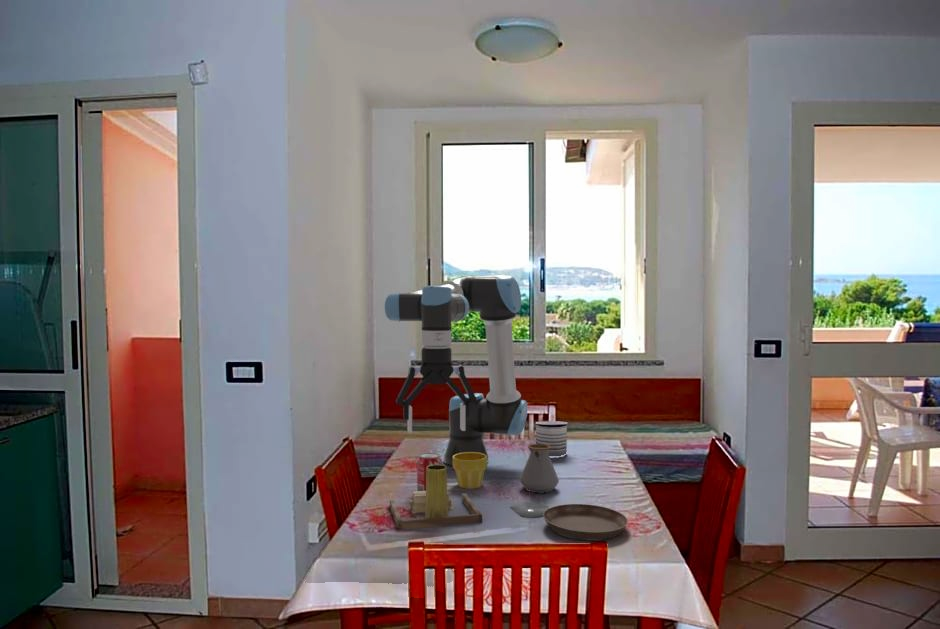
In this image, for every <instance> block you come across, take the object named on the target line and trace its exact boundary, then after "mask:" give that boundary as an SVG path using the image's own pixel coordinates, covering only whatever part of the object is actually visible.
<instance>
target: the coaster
mask: <svg viewBox="0 0 940 629" xmlns="http://www.w3.org/2000/svg"><path fill="white" fill-rule="evenodd" d="M509 508H510V510H512V511H513V512H514V513H515V514H517V515H518V516H519V517H522V518H541V517H543V513H544V512H545V511H546V510H547V509H549V508H550V507H549V506H548V505H546V504H543V503H539V502H530V501H529V502H528V501H527V502H517V503H514V504H512V505H510V506H509Z"/></svg>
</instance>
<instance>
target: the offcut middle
mask: <svg viewBox="0 0 940 629" xmlns="http://www.w3.org/2000/svg"><path fill="white" fill-rule="evenodd" d="M425 506H426V503H419V504H415V503H414V500H412V499H411V500H410V501H409V507H410V508H411V509H412V510H413V511H414V512H416V513H415V514H421V513H420V512H423V513H425ZM451 506H452V499H450V498H449V501H448V508H451Z"/></svg>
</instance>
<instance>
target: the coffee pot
mask: <svg viewBox="0 0 940 629" xmlns="http://www.w3.org/2000/svg"><path fill="white" fill-rule="evenodd" d="M527 448H528V451H529V452H530V454H529V456H528V459H527V461H526V464H525V466H524V468H523V471H522V473H521V475H520V477H519V481H520V483H521V486H522V487H524V488H525V489H526V488H527V489H528V490H530V491H533V492H532V493H535V492H538V494H543V493H544V492H546V493H550V492H552V491H553V489H555V488H556V487H557V486H558V484H559V481H560V480H559V477H558V474H557V471H556V470H555V467H554V465H553V463H552V460H551V458H550V457H549V455H548V451H549V449H550V446H549V445H545V444H536V443H533V444H529V445H527ZM527 489H526V490H527ZM528 490H527V491H528ZM551 490H552V491H551ZM530 491H529V492H530ZM549 491H550V492H549Z"/></svg>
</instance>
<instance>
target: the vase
mask: <svg viewBox="0 0 940 629" xmlns="http://www.w3.org/2000/svg"><path fill="white" fill-rule="evenodd" d="M447 492H448V467H447V466H446V465H444V464H442V465H429V466H427V467H426V506H425V512H424V514H425V515H424V518H432V517H444V516H449V510H448V501H447Z"/></svg>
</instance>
